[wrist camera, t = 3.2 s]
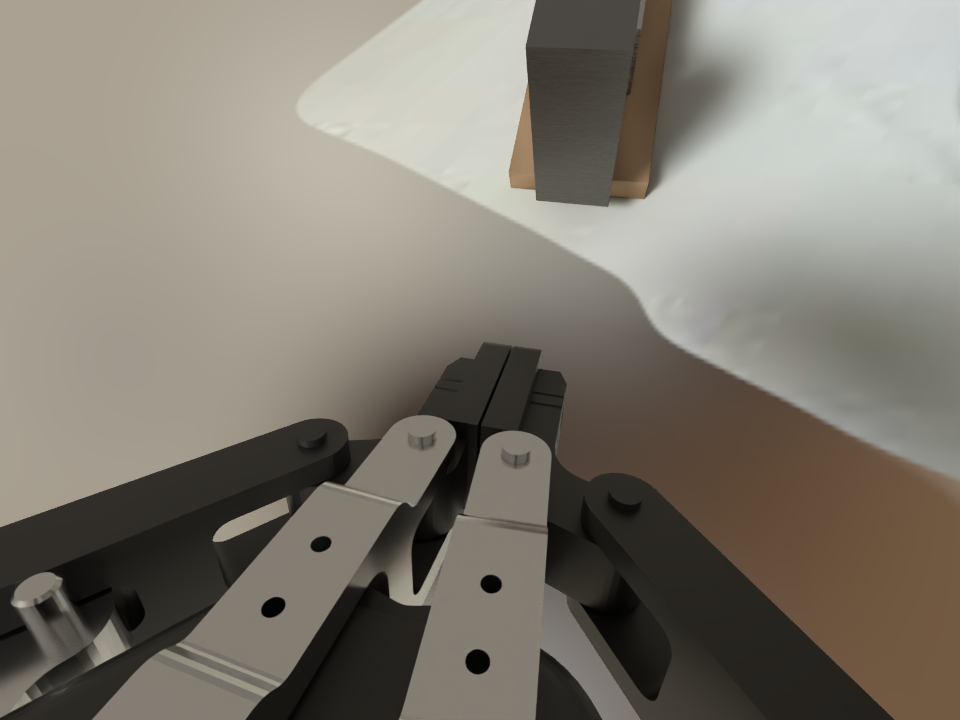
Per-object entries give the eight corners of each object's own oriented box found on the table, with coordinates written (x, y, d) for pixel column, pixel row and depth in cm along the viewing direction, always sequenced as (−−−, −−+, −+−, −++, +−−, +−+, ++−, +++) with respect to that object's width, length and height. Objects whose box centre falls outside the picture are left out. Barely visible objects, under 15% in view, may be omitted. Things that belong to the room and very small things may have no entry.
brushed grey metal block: (642, -19, 33) (676, -238, 23) (608, 206, 28) (633, 50, 19) (578, -19, 33) (587, -232, 24) (536, 200, 29) (525, 46, 20)
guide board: (676, -51, 35) (681, -75, 34) (644, 198, 30) (648, 183, 29) (561, -51, 37) (561, -73, 36) (510, 187, 32) (508, 172, 30)
